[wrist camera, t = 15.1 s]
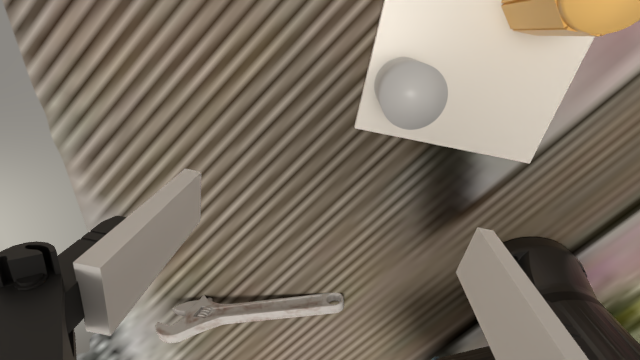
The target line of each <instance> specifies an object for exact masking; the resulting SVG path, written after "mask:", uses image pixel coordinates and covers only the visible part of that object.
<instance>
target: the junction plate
mask: <svg viewBox="0 0 640 360" xmlns="http://www.w3.org/2000/svg"><path fill="white" fill-rule="evenodd" d="M501 2H502V0H384V2H383V6H382V10H381V14H380V18H379V23H378V27H377V31H376V35H375V40H374V44H373V48H372V52H371V56H370V61H369V65H368V69H367V73H366V78H365V82H364V86H363V90H362V94H361V99H360V103H359V107H358V111H357V115H356V120H355V124H354V128H356V129H361V130H366V131H371V132H376V133H381V134H386V135H391V136H396V137H401V138H406V139H411V140H416V141H421V142H426V143H430V144H435V145H440V146H445V147H450V148H455V149H460V150H465V151H470V152H475V153H480V154H485V155H490V156H495V157H500V158H505V159H510V160H514V161H519V162H524V163H529V164H530V162H531V160H532V158H533V156H534V154H535V152H536V150H537V148H538V146H539V144H540V142H541V140H542V138H543V136H544V135H545V133H546V131H547V129H548V127H549V125H550V123H551V121H552V119H553V117H554V115H555V113H556V111H557V109H558V107H559V105H560V103H561V101H562V99H563V97H564V95H565V94H566V92H567V90H568V88H569V86H570V84H571V82H572V80H573V78H574V76H575V74H576V72H577V70H578V68H579V66H580V64H581V62H582V60H583V58H584V56H585V55H586V53H587V51H588V49H589V47H590V45H591V43H592V41H593V39H594V37H595V36H536V35H531V34H526V33H521V32H517V31H513V29H510V26H509V24H508V21H507V19H506V17H505V14H504V12H503V9H502V7H501V5H503V4H504V3H501Z"/></svg>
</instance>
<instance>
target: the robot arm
mask: <svg viewBox="0 0 640 360" xmlns="http://www.w3.org/2000/svg"><path fill="white" fill-rule="evenodd" d="M200 211H201V172H200V171H195V170H190V169H184V170H183V171H182V172H181V173H179V174H178V175H177V176H176V177H175V178H173V179H172V180H171V181H170V182H169V183H167V184H166V185H165V186H164V187H163V188H161V189H160V190H159V191H158V192H157V193H155V194H154V195H153V196H152V197H151V198H149V199H148V200H147V201H146V202H145V203H143V204H142V205H141V206H140V207H139V208H137V209H136V210H135V211H134V212H133V213H131V214H130V215H129V216H128V217H122V216H115V217H112V218H110V219H108V220H105V221H103V222H101V223H100V224H99V225H97V226H96V227H95V228H93V229H92V230H91V232H88V233H87V234H86V235H84V236H83V237H82V238H81V239H79V240H78V241H76V242H75V243H74V244H72V245H71V246H70V247H69V248H67V249H66V250H65V251H63V252H62V253H61V254H59V255H58V256H57V252H56V249H55V247H54V246H53V245H51V244H49V243H45V242H28V243H23V244H19V245H15V246H12V247H10V248H8V249H5V250H3V251H1V252H0V360H76V343H75V332H74V328H75V327H76V326H77V325H78V323H80V322H81V320H82V319H83V318H84V321H85V326H86V331H89V332H94V333H100V334H105V335H110V336H111V335H112V333H113V332H114V331H115V329H116V328H117V327H118V326H119V324H120V323H121V322H122V320H123V319H124V318H125V317H126V315H127V314H128V313H129V312H130V310H131V309H132V308H133V306H134V305H135V304H136V303H137V301H138V300H139V299H140V297H141V296H142V295H143V294H144V292H145V291H146V290H147V289H148V287H149V286H150V285H151V283H152V282H153V281H154V280H155V278H156V277H157V276H158V274H159V273H160V272H161V271H162V269H163V268H164V267H165V266H166V264H167V263H168V262H169V260H170V259H171V258H172V257H173V255H174V254H175V253H176V251H177V250H178V249H179V248H180V246H181V245H182V244H183V243H184V241H185V240H186V239H187V237H188V236H189V235H190V234H191V232H192V231H193V230H194V228H195V227H196V226H197V225H198V223H199V222H200ZM456 274H457V276H458V278H459V280H460V283H461V285H462V287H463V289H464V291H465V294H466V296H467V298H468V300H469V302H470V305H471V307H472V309H473V311H474V313H475V316H476V318H477V320H478V322H479V324H480V327H481V329H482V331H483V333H484V335H485V338H486V340H487V342H488V344H489V346H488V347H484V348H479V349H475V350H471V351H467V352H463V353H458V354H454V355H450V356H446V357H442V358H439V357H434V358H432V359H431V360H640V344H639V343H638V342H637V341H636V340H635V339H634V338H633V337H632V336H631V335H630V334H629V333H628V332H627V331H626V330H625V329H624V327H623V326H622V325H621V324H620V323H619V322H618V321H617V320H616V319H615V318H614V317H613V316H612V315H611V314H610V313H609V312H608V311H607V310H606V309H605V307H604V306H603V305H602V304H601V303H600V302H599V301H598V300H597V298H596V296H595V294H594V292H593V290H592V288H591V286H590V283H589V281H588V279H587V275H586V272H585V270H584V267H583V266H582V264H581V263H580V261H579V260H578V259H577V258H576V257H575V256H574V255H573V254H572V253H571V252H570V251H569V250H568V249H567V248H566V247H564V246H563V245H561V244H560V243H558V242H555V241H553V240H550V239H545V238H538V237H527V238H519V239H515V240H511V241H508V242H505V243H502V242H501V240H500V239H499V238H498V236H497V235H496V233H495V232H494V231H493V230H488V229H483V228H478V227H477V229H476V231H475V233H474V235H473V237H472V239H471V241H470V244H469V246H468V248H467V250H466V252H465V254H464V256H463V258H462V260H461V262H460V264H459V266H458V269H457V271H456Z"/></svg>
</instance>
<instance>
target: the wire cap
mask: <svg viewBox="0 0 640 360" xmlns="http://www.w3.org/2000/svg"><path fill="white" fill-rule="evenodd" d="M501 3H504V4H503V5H501V7H502V9H503V12H504V14H505V17H506V19H507V21H508V24H509V26H510V29H513V31H517V32H521V33H526V34H531V35H536V36H603V35H605V34H607V33H612V32H616V31H619V30H622V29H624V28H626V27H628V26H630V25H632V24H634V23H635V22H637V21H638V20H640V0H502V2H501Z"/></svg>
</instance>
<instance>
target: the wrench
mask: <svg viewBox="0 0 640 360" xmlns="http://www.w3.org/2000/svg"><path fill="white" fill-rule="evenodd" d="M212 300H213V299H212V298H206V297H205V295H203V296H202V297H201V298H200V300H196V301H189V302H186V303H182V304H180V305H177V306H175V307H174V308H173V312H174V313H175V314H178V315H182V316H185V317H184V318H183V319H182V320H180V321H178V322H177V323H175V324H173V325H171V326H170V325H166V324H163V323H159V322H158V323H157V324H156V325H155V328H156V332H157V334H158V336H159V338H160V339H161V340H162V341H164V342H166V343H176V342H180V341H182V340H185V339H187V338H189V337H191V336H194V335H196V334H198V333H200V332H203V331H206V330H208V329H211V328H214V327H217V326H220V325H223V324H232V323H242V322H251V321H261V320H271V319H281V318H291V317H301V316H311V315H321V314H331V313H338V312H340V311H342V310H343V308H344V300H343V296H342V294H340V293H322V294H314V295H306V296H298V297H289V298H280V299H271V300H262V301H254V302H245V303H235V304H219V303H215V302H213V301H212ZM333 300H337V301H340V303H338V304H336V305H333V304H329V302H331V301H333Z"/></svg>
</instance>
